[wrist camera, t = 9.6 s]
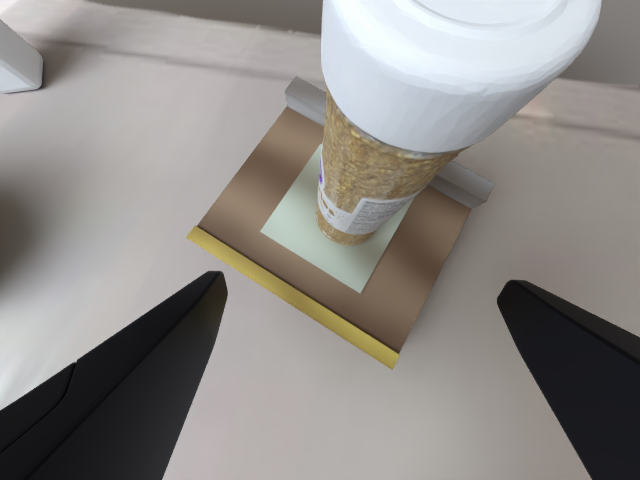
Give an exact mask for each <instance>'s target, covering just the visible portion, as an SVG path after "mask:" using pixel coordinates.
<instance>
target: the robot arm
mask: <svg viewBox="0 0 640 480" xmlns="http://www.w3.org/2000/svg"><path fill="white" fill-rule="evenodd" d="M227 296H228V291H227V286H226V282H225V278H224V274H223V272H221V271H208V272H206V273H204V274H203V275H201V276H200V277H198V278H197V279H196V280H194V281H193V282H191V283H190V284H188V285H187V286H185V287H184V288H182V289H181V290H179V291H178V292H176V293H175V294H173V295H172V296H170V297H169V298H168V299H166V300H165V301H163V302H162V303H160V304H159V305H157V306H156V307H154V308H153V309H151V310H150V311H148V312H147V313H145V314H144V315H142V316H141V317H140V318H138V319H137V320H135V321H134V322H132V323H131V324H129V325H128V326H126V327H125V328H123V329H122V330H120V331H119V332H117V333H116V334H115V335H113V336H112V337H110V338H109V339H107V340H106V341H104V342H103V343H101V344H100V345H98V346H97V347H95V348H94V349H92V350H91V351H89V352H88V353H87V354H85V355H84V356H82V357H81V358H79V359H78V360H77V362H74V363H72V364H70V365H69V366H67V367H66V368H64V369H63V370H61V371H60V372H58V373H57V374H55V375H54V376H52V377H51V378H49V379H48V380H46V381H45V382H43V383H42V384H40V385H39V386H37V387H36V388H34V389H33V390H31V391H30V392H28V393H27V394H25V395H24V396H22V397H21V398H19V399H18V400H16V401H15V402H13V403H11V404H10V405H8V406H7V407H5V408H3V409H2V410H0V480H162V479H163V476H164V473H165V471H166V468H167V466H168V463H169V461H170V458H171V455H172V453H173V450H174V448H175V445H176V443H177V440H178V437H179V435H180V432H181V430H182V427H183V425H184V422H185V419H186V417H187V414H188V412H189V409H190V407H191V404H192V401H193V399H194V396H195V394H196V391H197V389H198V386H199V383H200V381H201V378H202V376H203V373H204V371H205V368H206V365H207V363H208V360H209V358H210V355H211V353H212V350H213V347H214V344H215V341H216V338H217V334H218V330H219V327H220V323H221V319H222V315H223V312H224V308H225V304H226V300H227ZM497 305H498V307H499V309H500V312H501V314H502V316H503V318H504V320H505V323H506V325H507V327H508V329H509V331H510V334H511V336H512V338H513V340H514V342H515V344H516V347H517V349H518V351H519V353H520V354H521V356H522V358H523V360H524V362H525V363H526V365H527V367H528V369H529V370H530V372H531V374H532V376H533V377H534V379H535V381H536V383H537V384H538V386H539V388H540V390H541V391H542V393H543V395H544V397H545V398H546V400H547V402H548V404H549V405H550V407H551V409H552V411H553V412H554V414H555V416H556V418H557V419H558V421H559V423H560V425H561V426H562V428H563V430H564V432H565V433H566V435H567V437H568V439H569V440H570V442H571V444H572V446H573V447H574V449H575V451H576V453H577V454H578V456H579V458H580V460H581V461H582V463H583V465H584V466H585V468H586V470H587V472H588V473H589V475H590V477H591V479H592V480H640V337H638V336H636V335H634V334H632V333H630V332H628V331H626V330H624V329H622V328H620V327H618V326H616V325H614V324H612V323H610V322H608V321H606V320H604V319H602V318H600V317H598V316H596V315H594V314H592V313H590V312H588V311H586V310H584V309H582V308H580V307H578V306H576V305H574V304H572V303H570V302H568V301H566V300H564V299H562V298H560V297H558V296H556V295H554V294H552V293H550V292H548V291H546V290H544V289H542V288H540V287H538V286H536V285H534V284H532V283H530V282H528V281H525V280H510V281H508V282H507V283H506V285H505V286H504V288H503V290H502V291H501V293H500V294H499V296H498V298H497Z"/></svg>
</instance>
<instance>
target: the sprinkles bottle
mask: <svg viewBox="0 0 640 480" xmlns="http://www.w3.org/2000/svg"><path fill="white" fill-rule="evenodd" d="M601 1H602V0H323V14H322V40H321V64H322V70H323V74H324V78H325V81H326V88H327V92H326V95H327V100H326V113H325V124H324V137H323V142H322V147H321V158H320V173H319V184H318V202H317V205H316V214H315V216H316V221H317V224H318V226H319V228H320V230H321V231H322V233H323V234H324V235H325V236H326V237H327V238H329V239H330V240H331V241H333V242H336V243H338V244H342V245H349V246H352V245H355V244H360V243H362V242H365V241H366V240H368V239H369V238H370V237H371V236H372V235H373V234H374V232H375V231H376V229H378V228H380V227H381V226H382V225H383V224H385V223H386V222H387V221H388V220H389V219H390V218H391V217H393V216H394V215H395V214H396V213H397V212H398V211H399V210H400V209H401V208H402V207H404V206H405V205H406V204H407V203H408V202H409V201H410V200H411V199H412V198H413V197H415V196H416V195H417V194H418V193H419V192H420V191H421V190H422V189H423V188H424V187H426V186H427V185H428V184H429V183H430V181H431V180H432V179H433V177H434V176H435V175H436V174H438V173H439V172H440V171H441V170H442V169H443V168H444V167H445V166H446V165H447V164H448V163H449V162H451V161H452V160H453V159H454V158H455V157H456V156H457V155H458V154H459V153H460V152H461V151H463V150H465V149H466V148H468V147H470V146H472V145H474V144H475V143H478V142H480V141H482V140H483V139H485V138H486V137H488V136H489V135H491V134H492V133H494V132H495V131H496V130H497V129H499V128H500V127H501V126H502V125H503V124H504V123H506V122H507V121H508V120H509V119H510V118H512V117H513V116H514V115H515V114H516V113H517V112H518V111H520V110H521V109H522V108H523V107H524V106H525V105H526V104H527V103H528V102H530V101H531V100H532V99H533V98H534V97H535V96H536V95H537V94H539V93H540V92H541V91H542V90H543V89H544V88H545V87H546V86H548V85H549V84H550V83H551V82H552V81H553V80H554V79H555V78H557V77H558V76H559V75H560V74H561V73H562V72H563V71H564V70H565V69H566V68H567V67H569V66H570V64H571V63H572V62H573V61H574V60H575V59H576V58H577V56H578V55H579V54H580V53H581V52H582V51H583V49H584V48H585V46H586V44H587V42H588V41H589V39H590V37H591V35H592V33H593V31H594V29H595V27H596V25H597V22H598V18H599V14H600V9H601Z"/></svg>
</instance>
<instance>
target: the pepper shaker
mask: <svg viewBox="0 0 640 480" xmlns="http://www.w3.org/2000/svg"><path fill="white" fill-rule="evenodd" d="M42 69H43V59H42V56H41V55H40V54H39V52H38V51H37V50H36V49H34V48H33V47H32V46H31V45H30V44H29V43H27V42H26V41H25V40H24V39H23V38H22V37H20V36H19V35H18V34H17V33H16V32H15V31H13V30H12V29H11V28H10V27H9V26H8V25H6V24H5V23H4V22H3V21H2V20H1V19H0V93H11V92H19V91H27V90H35V89H38V88H39V87H40V86H41V85H42Z"/></svg>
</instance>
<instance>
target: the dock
mask: <svg viewBox="0 0 640 480" xmlns="http://www.w3.org/2000/svg"><path fill="white" fill-rule="evenodd" d="M285 95H286V102H287V107H286V108H285V110H284V111H283V112H282V114H281V115H280V116H279V118H278V119H277V120H276V122H275V123H274V124H273V126H272V127H271V128H270V130H269V131H268V132H267V134H266V135H265V136H264V138H263V139H262V140H261V142H260V143H259V144H258V146H257V147H256V148H255V149H254V151H253V152H252V153H251V155H250V156H249V157H248V159H247V160H246V161H245V163H244V164H243V165H242V167H241V168H240V169H239V171H238V172H237V173H236V175H235V176H234V177H233V179H232V180H231V181H230V183H229V184H228V185H227V187H226V188H225V189H224V191H223V192H222V193H221V195H220V196H219V197H218V199H217V200H216V201H215V203H214V204H213V205H212V207H211V208H210V209H209V211H208V212H207V213H206V215H205V216H204V217H203V219H202V220H201V221H200V223H199V224H198V225H197V226H195V227H194V228H193V229H192V230H191V232H190V233H189V234H188V236H187V237H186V238H187V239H189V240H191V241H192V242H194V243H195V244H197V245H198V246H200V247H202V248H203V249H205V250H206V251H208V252H209V253H211V254H212V255H214V256H216V257H217V258H219V259H220V260H222V261H223V262H225V263H226V264H228V265H230V266H231V267H233V268H234V269H236V270H237V271H239V272H241V273H242V274H244V275H245V276H247V277H248V278H250V279H251V280H253V281H255V282H256V283H258V284H259V285H261V286H262V287H264V288H266V289H267V290H269V291H270V292H272V293H273V294H275V295H276V296H278V297H280V298H281V299H283V300H284V301H286V302H287V303H289V304H290V305H292V306H294V307H295V308H297V309H298V310H300V311H301V312H303V313H305V314H306V315H308V316H309V317H311V318H312V319H314V320H315V321H317V322H319V323H320V324H322V325H323V326H325V327H326V328H328V329H330V330H331V331H333V332H334V333H336V334H337V335H339V336H340V337H342V338H344V339H345V340H347V341H348V342H350V343H351V344H353V345H354V346H356V347H358V348H359V349H361V350H362V351H364V352H365V353H367V354H369V355H370V356H372V357H373V358H375V359H376V360H378V361H379V362H381V363H383V364H384V365H386V366H387V367H389V368H390V369H392V370H393V368H394V366H395V364H396V362H397V360H398V358H399V356H400V355H399V352H400V350H401V348H402V346H403V344H404V342H405V340H406V338H407V336H408V334H409V332H410V330H411V328H412V327H413V325H414V323H415V321H416V319H417V317H418V315H419V313H420V311H421V309H422V307H423V305H424V303H425V301H426V299H427V297H428V295H429V293H430V291H431V289H432V287H433V285H434V283H435V281H436V279H437V277H438V275H439V273H440V271H441V269H442V267H443V265H444V263H445V261H446V259H447V257H448V255H449V253H450V251H451V249H452V247H453V245H454V243H455V241H456V239H457V237H458V235H459V233H460V231H461V229H462V227H463V225H464V223H465V221H466V219H467V217H468V215H469V213H470V211H471V209H472V208H474V207H476V206H478V205H480V204H482V203H484V202H486V200H487V198H488V196H489V194H490V192H491V190H492V188H493V186H494V183H492V182H490V181H488V180H486V179H485V178H483V177H481V176H479V175H477V174H475V173H474V172H472V171H470V170H468V169H466V168H464V167H463V166H461V165H459V164H457V163H455V162H453V161H451V162H449V163H448V164H447V165H446V166H445V167H444V168H443V169H442V170H441V171H440V172H439V173H438V174H436V175H435V176H434V177H433V179H432V180H431V181H430V183H429V184H428V185H427V186H426V187H424V188H423V189H422V190H421V191H420V192H419V193H418V194H417V195H416V196H415V197H413V198H412V199H411V200H410V201H409V202H408V203H407V204H406V205H405V206H404V207H402V208H401V209H400V210H399V211H398V212H397V213H396V214H395V215H394V216H393V217H391V218H390V219H389V220H388V221H387V222H386V223H385V224H383V225H382V226H381V227H380V228H378V229H376V231H375V232H374V234H373V235H372V236H371V237H370V238H369V239H368V240H366V241H365V242H362V243H360V244H355V245H352V246H349V245H342V244H338V243H336V242H333V241H331V240H330V239H329V238H327V237H326V236H325V235H324V234H323V233H322V231H321V230H320V228H319V226H318V224H317V221H316V216H315V214H316V205H317V202H318V184H319V173H320V158H321V147H322V142H323V137H324V124H325V113H326V100H327V95H326V92H324V91H323V90H321V89H319V88H317V87H315V86H313V85H312V84H310V83H308V82H306V81H304V80H302V79H300V78H299V77H297V76H296V77H295V78H294V79H293V81H292V82H291V83H290V85H289V86H288V87H287V88H286V90H285Z"/></svg>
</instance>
